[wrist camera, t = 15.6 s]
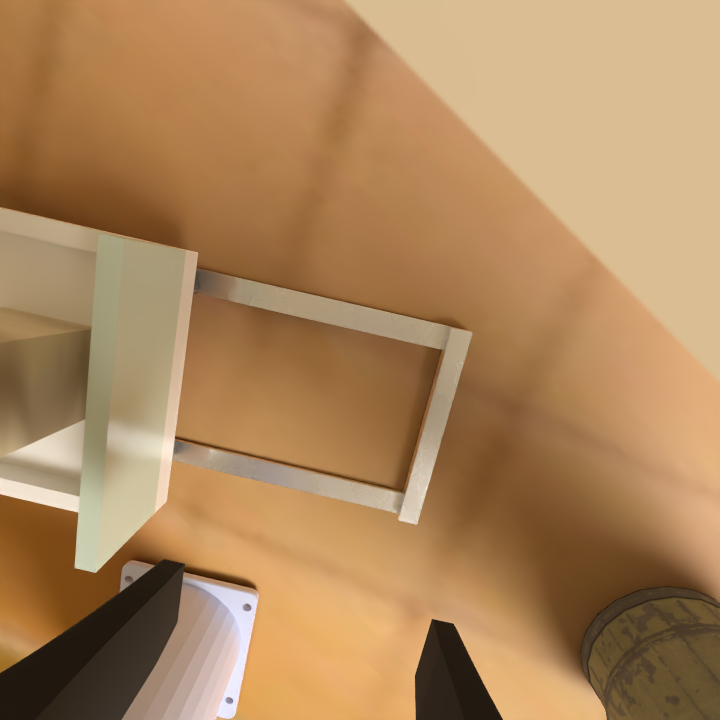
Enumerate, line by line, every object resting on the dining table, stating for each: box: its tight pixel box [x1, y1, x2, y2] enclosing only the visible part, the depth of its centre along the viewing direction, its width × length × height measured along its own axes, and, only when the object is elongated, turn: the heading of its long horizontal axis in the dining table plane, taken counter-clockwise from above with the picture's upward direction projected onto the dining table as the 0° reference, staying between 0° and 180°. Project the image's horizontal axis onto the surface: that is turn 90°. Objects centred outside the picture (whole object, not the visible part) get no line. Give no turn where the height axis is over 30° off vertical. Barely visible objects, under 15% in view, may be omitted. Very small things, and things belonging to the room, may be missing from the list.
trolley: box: [0, 207, 198, 573], centre depth 16 cm, size 12×12×7 cm
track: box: [172, 268, 473, 525], centre depth 19 cm, size 10×26×1 cm, turn 77°
